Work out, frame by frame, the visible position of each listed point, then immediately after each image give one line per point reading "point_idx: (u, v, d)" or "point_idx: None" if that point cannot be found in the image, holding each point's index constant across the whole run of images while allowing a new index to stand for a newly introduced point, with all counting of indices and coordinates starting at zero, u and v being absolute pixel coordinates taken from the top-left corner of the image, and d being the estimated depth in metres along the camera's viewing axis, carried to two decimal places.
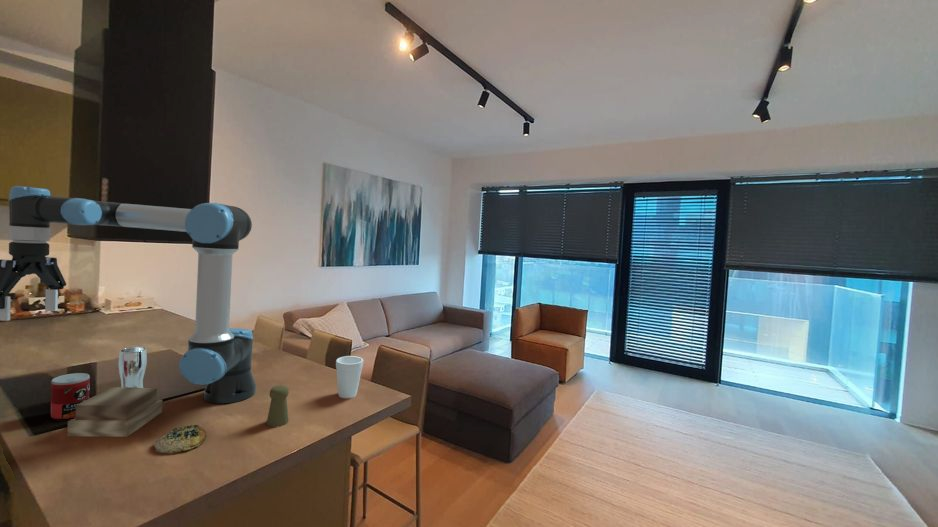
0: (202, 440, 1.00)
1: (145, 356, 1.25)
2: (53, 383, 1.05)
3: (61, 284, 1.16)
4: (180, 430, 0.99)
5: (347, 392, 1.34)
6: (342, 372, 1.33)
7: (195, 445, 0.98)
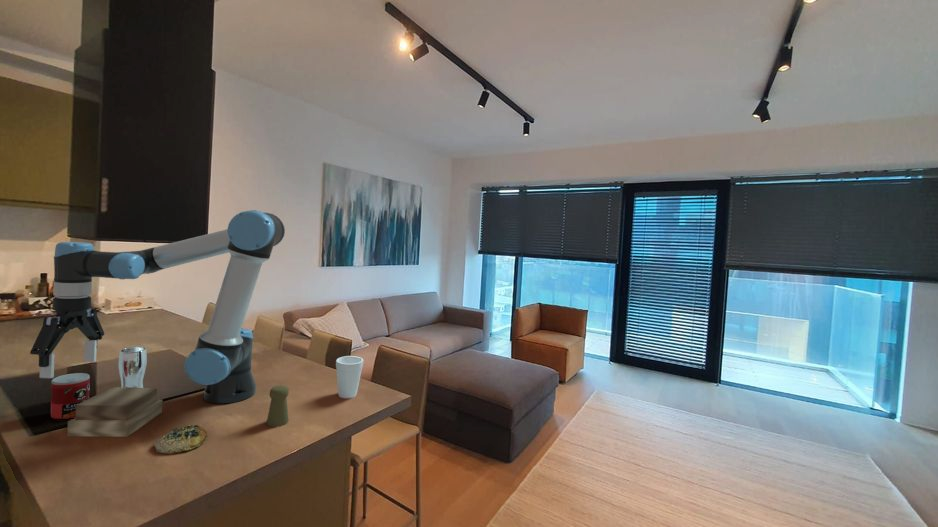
0: (202, 440, 1.00)
1: (145, 356, 1.25)
2: (53, 383, 1.05)
3: (99, 334, 1.16)
4: (180, 430, 0.99)
5: (347, 392, 1.34)
6: (342, 372, 1.33)
7: (195, 445, 0.98)
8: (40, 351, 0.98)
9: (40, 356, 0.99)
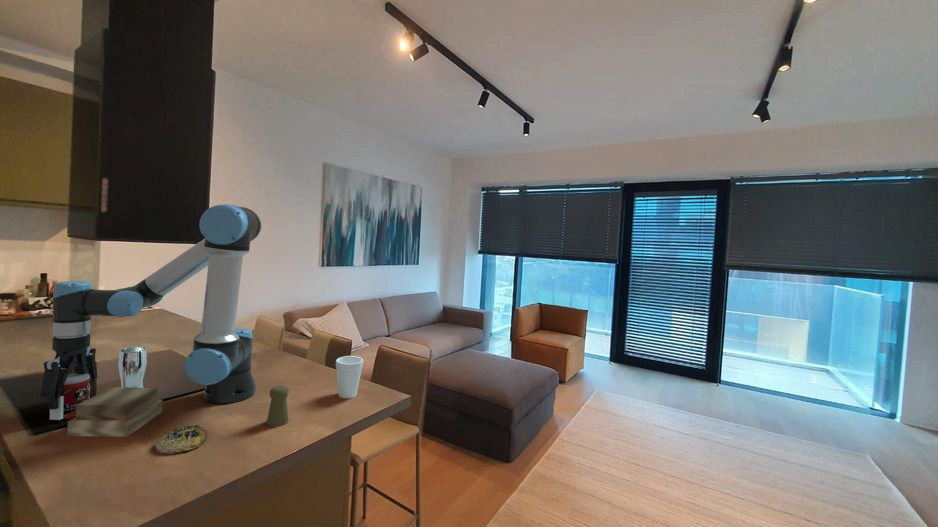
0: (203, 440, 1.00)
1: (145, 356, 1.25)
2: None
3: (92, 377, 1.15)
4: (181, 430, 0.99)
5: (347, 392, 1.34)
6: (342, 372, 1.33)
7: (196, 445, 0.98)
8: (49, 395, 1.01)
9: (50, 399, 1.03)
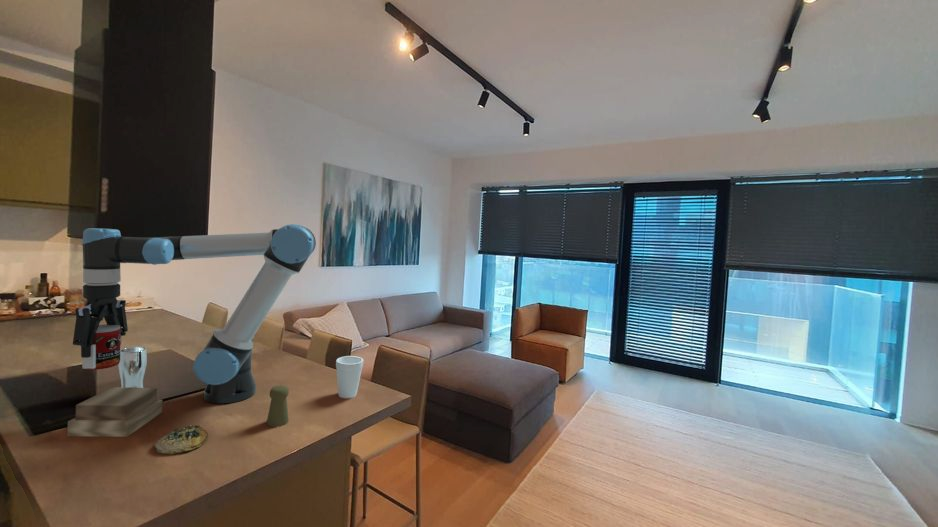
0: (203, 441, 1.00)
1: (145, 356, 1.25)
2: None
3: (123, 330, 1.12)
4: (181, 431, 0.99)
5: (347, 392, 1.34)
6: (342, 372, 1.33)
7: (196, 446, 0.97)
8: (82, 342, 0.99)
9: (82, 347, 1.00)
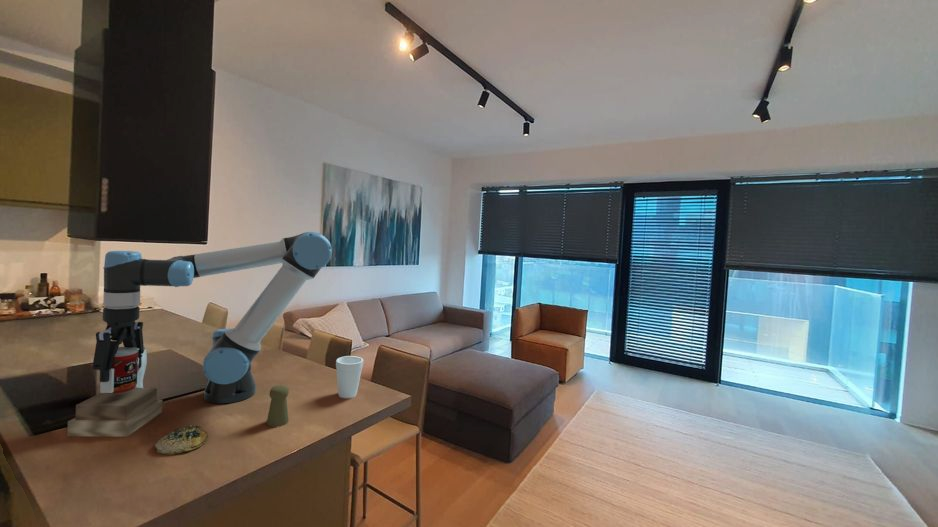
0: (203, 441, 1.00)
1: (145, 356, 1.25)
2: None
3: (139, 352, 1.11)
4: (181, 431, 0.99)
5: (347, 392, 1.34)
6: (342, 372, 1.33)
7: (196, 446, 0.97)
8: (102, 367, 0.98)
9: (101, 371, 0.99)
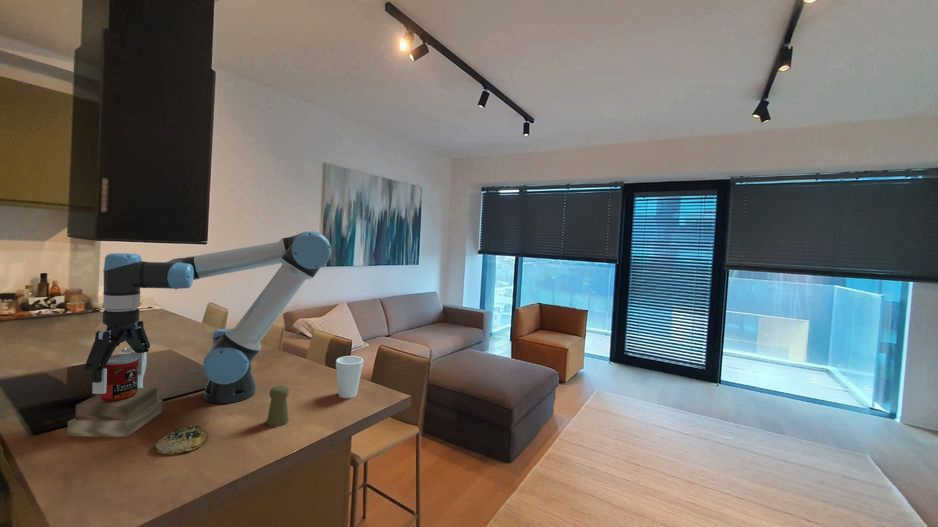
0: (203, 441, 1.00)
1: (145, 356, 1.25)
2: None
3: (146, 346, 1.14)
4: (182, 431, 0.99)
5: (347, 392, 1.34)
6: (342, 372, 1.33)
7: (196, 446, 0.97)
8: (94, 366, 0.95)
9: (93, 371, 0.97)
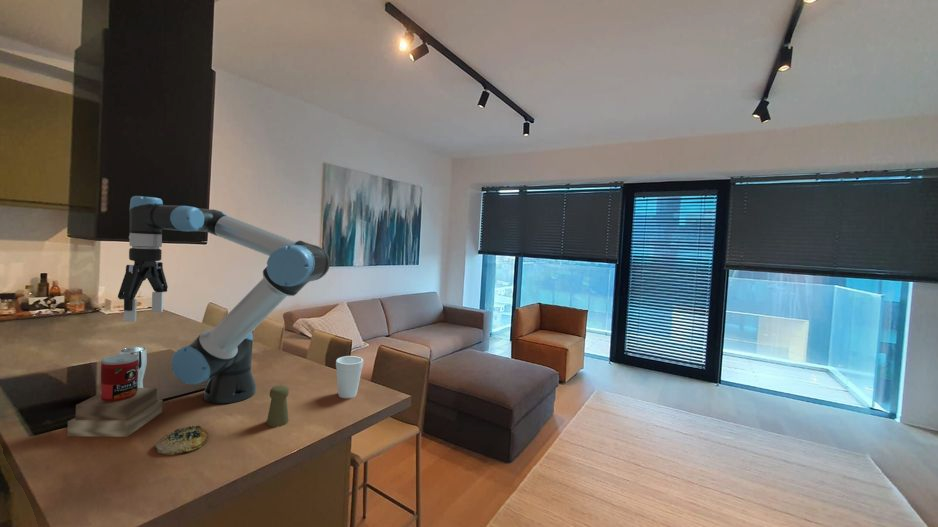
0: (204, 441, 0.99)
1: (145, 356, 1.25)
2: (103, 363, 1.02)
3: (164, 287, 1.24)
4: (182, 431, 0.99)
5: (347, 392, 1.34)
6: (342, 372, 1.33)
7: (197, 446, 0.97)
8: (127, 295, 1.06)
9: (125, 300, 1.07)
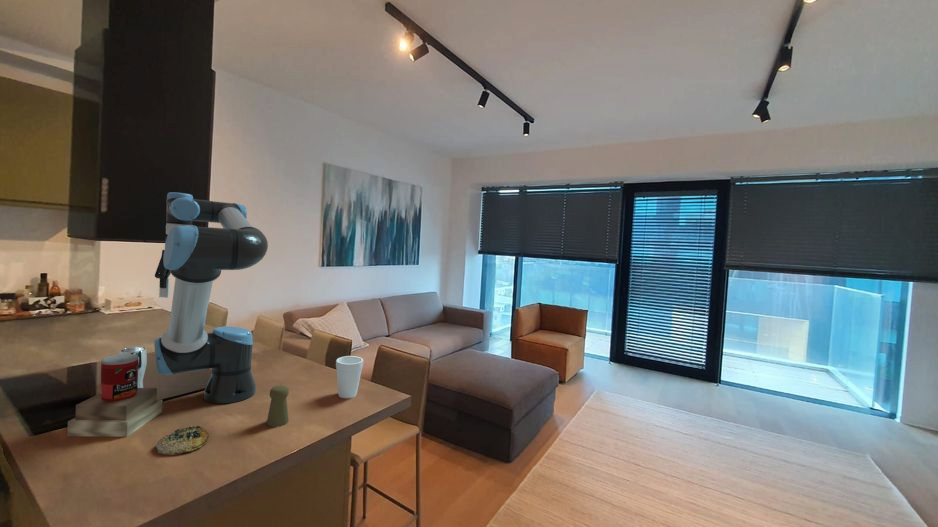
0: (204, 441, 0.99)
1: (145, 356, 1.25)
2: (103, 363, 1.02)
3: None
4: (182, 431, 0.98)
5: (347, 392, 1.34)
6: (342, 372, 1.33)
7: (197, 446, 0.97)
8: (162, 274, 1.26)
9: (160, 279, 1.28)
